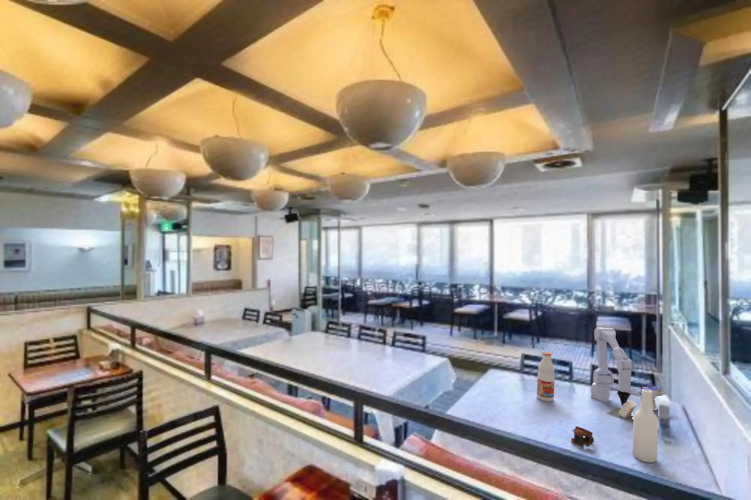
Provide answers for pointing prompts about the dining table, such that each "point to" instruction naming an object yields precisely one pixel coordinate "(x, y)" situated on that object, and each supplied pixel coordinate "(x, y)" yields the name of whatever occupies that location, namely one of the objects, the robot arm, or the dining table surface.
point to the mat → (615, 413)
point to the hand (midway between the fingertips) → (623, 405)
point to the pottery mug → (579, 438)
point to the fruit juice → (545, 378)
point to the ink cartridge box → (655, 391)
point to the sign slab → (627, 408)
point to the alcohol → (645, 430)
